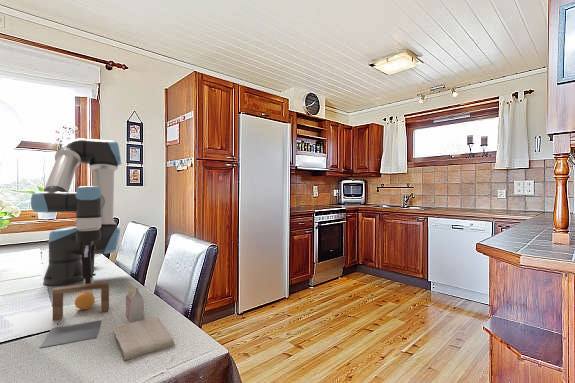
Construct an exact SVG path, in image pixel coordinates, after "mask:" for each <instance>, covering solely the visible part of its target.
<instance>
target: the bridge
mask: <svg viewBox="0 0 575 383" xmlns="http://www.w3.org/2000/svg"><path fill="white" fill-rule="evenodd" d="M92 289H93V290H98V289H99V290H100V292H101V293H100V314H106V313H109V311H110V281H101V282H93V283H91V284H84V283H82V284H75V285H65V286H57V287H56V286H55V287H54V288H53V289H52V322H53V321H61V320H62V318H63V317H64V294H67V293H74V292H75V293H76V292H84V290H92Z"/></svg>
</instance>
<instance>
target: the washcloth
mask: <svg viewBox="0 0 575 383" xmlns="http://www.w3.org/2000/svg"><path fill="white" fill-rule="evenodd" d="M113 333H114V336H115V343H116V345H117V347H118V350H119V352H120V355H121V359H122V360H123V361H128V360H129V361H130V360H131V359H135V358H138V357H140V356H143V355H146V354H150V353H153V352H154V353H155V352H157V351H161V350H164V349H168V348H170V347H173V346H174V345H175V341H174V337H173V336H171V334H170V333H169V332H168V330H167V328H166V327H165V325H164V324H163V323H162V322H161V320H160V319H159V317H156V316H153V317H150V318H146V319H144V320H141V321H137V322H131V323H130V322H127V323H124V324H121V325H120V324H119V325H116V326H115V327H114V329H113Z"/></svg>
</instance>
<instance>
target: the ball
mask: <svg viewBox="0 0 575 383" xmlns="http://www.w3.org/2000/svg"><path fill="white" fill-rule="evenodd" d="M94 303H95V296H94V293H93V294H92V293H90V292H84V291H83V292H81V293H80V294H78V295H77V296H76V297H75V300H74V306H75V307H76V308H77V309H78V310H81V311H84V310H87V309H90V308H91V307H92V306H93V305H94Z"/></svg>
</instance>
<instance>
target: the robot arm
mask: <svg viewBox="0 0 575 383" xmlns="http://www.w3.org/2000/svg"><path fill="white" fill-rule="evenodd" d="M120 152H121V151H120V147H119V142H117V141H115V140H108V139H95V138H94V139H93V138H91V139H89V138H76V139H72V140H70V141H68V142H66V143H64V144H62V145H60V147H58V149H57V151H56V152H55V154H54V161H55V162H54V165H53V167H52V168H51V169H52V170H51V172H50V175H49V176H48V179H47V181H46V184H45V186H44V189H43V191H42V190H41V191H36V192H33V193H32V194H31V196H30V197H31V198H30V206H31V207H30V208H31V210H32V211H33V212H35V213H46V214H49V213H50V214H51V213H73V212H74V213H75V220H74V221H73V223H74V224H75V226H68V227H62V228H57V229H54V230H52V231H50V232H49V234H48V242H47V243H48V265H47V268H46V271H45V273H44V276H43V280H42V282H43V285H45V284H46V286H62V285H66V284H67V285H69V284H73V283H78V282H80V281H83V284H91V283H94V277H95V276H96V273H95V255H106V254H114V253H115V252H116V251H117V250H118V245H119V242H120V236H121V234H120V233H121V228H120V227H119V226H117V222H116V221H114V200H115V199H114V196H115V194H114V193H115V192H114V190H115V189H114V186H115V183H114V182H115V171H117V170H118V167H119V166H120V165H122V160H121V153H120ZM80 164H89V167H88V168H90V169H91V171H92V185H91V186H89V185H87V186H86V185H83V186H78V187H76V191H70V188H71V185H72V182H73V179H74V175H75V172H76V170H77V167H79V166H80ZM81 256H82V260H81ZM84 292H90V293H92V294H93V295H94V289H92V290H84V291H83V293H84Z"/></svg>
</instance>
